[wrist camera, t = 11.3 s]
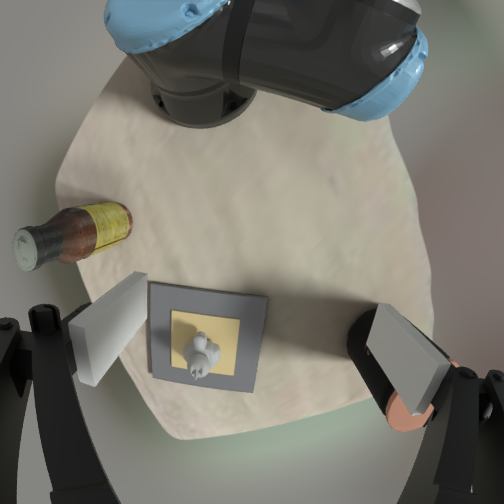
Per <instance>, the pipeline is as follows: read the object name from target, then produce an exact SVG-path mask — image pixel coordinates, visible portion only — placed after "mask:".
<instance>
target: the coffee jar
mask: <svg viewBox="0 0 504 504" xmlns="http://www.w3.org/2000/svg"><path fill="white" fill-rule="evenodd" d="M376 311H377V308H375V309H373V310H370V311H368V312H366V313H365V314H363V315H362V316H361V317H359V319H358V320H357V321H356V322H355V323H354V324H353V326H352V328H351V330H350V332H349V334H348V340H347V350H348V354H349V356H350V357H351V359H352V361H353V362H354V364H355V366H356V368H357V369H358V371H359V373H360V374H361V376H362V378H363V380H364V381H365V383H366V385H367V387H368V388H369V390H370V392H371V394H372V395H373V397H374V399H375V401H376V402H377V404H378V406H379V408H380V409H381V411H382V413H383V414H384V415H385V416H386V419H387V422H388V423H389V425H390V426H391V428H392V429H395V430H397V431H411V430H414V429H418V428H420V427H422V426H423V425H424V424H425V422H426V421H427V419H428V417H429V416H430V414H431V413H432V411H433V409H434V407H433V406H432V404H431V403H430V405H429V407H428V408H427V410H426V412H425V413H424V414H420V415H414V416H411V414H410V412H409V411H408V409H407V407H406V406H405V404H404V403H403V401H402V399H401V398H400V396H399V394H398V393H397V391H396V390H395V388H394V386H393V385H392V383H391V382H390V380H389V379H388V377H387V375H386V374H385V372H384V371H383V369H382V368H381V366H380V365H379V363H378V362H377V360H376V358H375V357H374V355H373V354H372V352H371V351H370V349H369V348H368V346H367V345H366V343H367V340H368V337H369V334H370V331H371V328H372V324H373V321H374V318H375V315H376ZM403 317H404V316H403ZM404 318H405V317H404ZM405 319H406V318H405ZM406 320H407V319H406ZM407 321H408V320H407ZM410 323H411V322H410ZM411 324H412V323H411ZM412 325H413V324H412ZM413 326H414V325H413ZM414 327H415V326H414ZM415 328H416V329H417V330H418V331H419V332H420V333H421V334H422V335H423V336H424V337H425V338H426V339H427V340H428V341H429V342H430V343H431V344H432V345H434V346H435V347H436V348H437V349H438V350H439V351H440V352H441V353H442V354H443V355H444V356H445V357H446V358H447V359H448V360H449V361H450V362H451V363H452V364H453V365H454V366H455V367H456V368H457V367H460V366H459V365H458V364H457V363H456V362H455V361H453V360H452V359H450V357H449V356H448V355H447V354H446V353H445V352H444V351H443V350H442V349H441V348H440V347H438V346H437V345H436V344H435V343H434V342H433V341H432V340H430V339H429V338H428V337H427V336H426V335H425V334H424V333H422V332H421V331H420V330H419V329H418V328H417V327H415Z"/></svg>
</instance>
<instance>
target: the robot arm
mask: <svg viewBox="0 0 504 504" xmlns="http://www.w3.org/2000/svg"><path fill="white" fill-rule="evenodd" d="M420 15H421V9H420V7H419V5H418V3H417V0H108V2H107V4H106V7H105V12H104V23H105V26H106V28H107V31H108V32H109V33H110V35H111V36H112V37H113V39H114V40H115V44H116V46H117V47H118V48H119V49H120V50H122V51H123V52H125V53H126V54H127V55H128V56H129V57H130V58H131V59H132V60H133V61H134V62H135V63H136V64H137V66H138V67H139V68H140V69H141V70H142V71H143V72H144V73H145V74H146V75H147V76H148V77H149V79H150V80H151V91H152V96H153V99H154V101H155V103H156V105H157V106H158V108H159V109H160V110H161V111H162V112H163V113H164V114H165V115H166V116H167V117H168V118H169V119H171V120H172V121H174V122H175V123H177V124H179V125H182V126H185V127H189V128H199V129H202V128H211V127H216V126H220V125H222V124H225V123H227V122H229V121H231V120H233V119H235V118H236V117H238V116H239V115H240V114H241V113H243V112H244V111H245V110H246V109H247V107H248V106H249V105H250V104H251V102H252V101H253V99H254V97H255V95H256V92H257V90H261V91H265V92H269V93H272V94H276V95H280V96H283V97H287V98H290V99H293V100H297V101H300V102H303V103H306V104H309V105H312V106H315V107H318V108H320V109H321V110H322V111H324V112H327V113H337V114H340V115H343V116H346V117H349V118H352V119H355V120H358V121H364V122H367V121H371V120H377V119H380V118H382V117H384V116H386V115H388V114H389V113H391V112H392V111H393V110H394V109H396V108H397V107H398V106H399V105H400V104H401V103H402V102H403V101H404V100H405V99H406V97H407V96H408V95H409V93H411V91H412V90H413V88H414V87H415V85H416V84H417V82H418V80H419V78H420V76H421V74H422V72H423V69H424V64H423V61H424V60H425V59H426V58H427V55H428V43H427V40H426V37H425V35H424V34H423V33H422V32H421V30H420V29H419V28H418V27H417V26H415V25H416V23H417V21H418V19H419V17H420ZM28 314H29V320H30V325H31V329H32V332H27V331H21V330H20V326H19V322H18V321H17V320H16V319H14V318H6V317H5V318H1V319H0V504H17V496H16V495H17V470H18V458H19V449H20V441H21V433H22V428H23V422H24V416H25V411H26V406H27V401H28V397H29V393H30V388H31V384H32V380H33V387H34V397H35V407H36V414H37V421H38V428H39V433H40V438H41V444H42V448H43V453H44V457H45V462H46V466H47V469H48V473H49V476H50V480H51V483H52V487H53V491H52V492H50V499H51V503H52V504H121V502H120V501H119V499H118V497H117V495H116V493H115V491H114V489H113V487H112V485H111V483H110V481H109V479H108V477H107V475H106V473H105V470H104V468H103V466H102V464H101V461H100V459H99V457H98V454H97V452H96V449H95V447H94V444H93V442H92V439H91V437H90V434H89V431H88V428H87V425H86V422H85V419H84V416H83V413H82V410H81V407H80V404H79V400H78V396H77V393H76V389H75V385H74V381H73V378H72V375H73V374H74V373H75V372H76V371H77V373H78V377H79V381H80V382H82V383H85V384H88V385H91V386H93V387H95V386H96V385H97V384H98V382H99V381H100V380H101V378H102V377H103V375H104V374H105V373H106V371H107V370H108V369H109V367H110V366H111V365H112V363H113V362H114V361H115V359H116V358H117V357H118V355H119V354H120V353H121V351H122V350H123V349H124V347H125V346H126V345H127V344H128V342H129V341H130V340H131V338H132V337H133V336H134V334H135V333H136V332H137V331H138V329H139V328H140V327H141V325H142V324H143V323H144V322H145V320H146V319H147V273H142V272H136V271H135V272H133V273H132V274H131V275H129V276H128V277H127V278H125V279H124V280H123V281H121V282H120V283H119V284H117V285H116V286H115V287H113V288H112V289H111V290H109V291H108V292H107V293H105V294H104V295H103V296H101V297H100V298H99V299H98V300H96V301H95V302H94V303H87V304H84V305H81V306H80V307H79V308H77V309H76V310H75V311H74V312H72V313H71V314H70V315H68V316H67V317H65V318H64V319H63V320H62V321H61V319H60V312H59V309H58V307H56V306H55V305H51V304H40V305H36V306H34V307H32V308H31V309H30V310H29V312H28ZM366 345H367V346H368V348H369V349H370V351H371V352H372V354H373V355H374V357H375V358H376V360H377V362H378V363H379V365H380V366H381V368H382V369H383V371H384V372H385V374H386V375H387V377H388V379H389V380H390V382H391V383H392V385H393V386H394V388H395V390H396V391H397V393H398V394H399V396H400V398H401V399H402V401H403V403H404V404H405V406H406V407H407V409H408V411H409V412H410V414H411V416H414V415H420V414H424V413H425V412H426V410H427V408H428V407H429V405H430V403H431V404H432V406H433V407H434V409H433V411H432V413H431V414H430V416H429V417H428V419H427V421H426V422H425V424H424V425H423V427H425V426H426V425H427V428H426V431H425V434H424V437H423V440H422V443H421V446H420V450H419V452H418V455H417V458H416V461H415V463H414V466H413V468H412V471H411V473H410V476H409V478H408V481H407V483H406V485H405V487H404V489H403V492H402V494H401V496H400V498H399V500H398V502H397V504H504V374H503V372H501V371H499V370H490V371H489V372H488V374H487V376H486V378H485V379H481V378H478V376H477V374H476V373H475V372H474V371H472V370H471V369H469V368H466V367H457V368H456V367H455V366H454V365H453V364H452V363H451V362H450V361H449V360H448V359H447V358H446V357H445V356H444V355H443V354H442V353H441V352H440V351H439V350H438V349H437V348H436V347H435V346H434V345H432V344H431V343H430V342H429V341H428V340H427V339H426V338H425V337H424V336H423V335H422V334H421V333H420V332H419V331H418V330H417V329H416V328H415V327H414V326H413V325H412V324H411V323H410V322H409V321H407V320H406V319H405V318H404V317H403V316H402V315H401V314H400V313H399V312H398V311H397V310H396V309H395V308H394V307H393V306H391V305H390V304H385V303H379V304H378V308H377V311H376V315H375V318H374V321H373V324H372V328H371V331H370V334H369V337H368V340H367V343H366ZM491 410H492V413H491V415H490V417H489V418H488V415H489V413H490V412H491ZM471 486H472V490H473V493H471Z"/></svg>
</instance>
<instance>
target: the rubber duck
mask: <svg viewBox="0 0 504 504" xmlns="http://www.w3.org/2000/svg"><path fill="white" fill-rule="evenodd" d="M183 357H184V359H185V361H186V362H187V369H188V371H189V373H190V374H191V375H192V376H193V377H195V380H196V379H197V378H201V377H204V376H206V375H207V374H208V372H209V370H211V369H212V368H213V367H214V366H215V365H216V364H217V363H218V362H219V360H220V358H221V353H220V347H219V345H218V344H215V343H213V342H212V341H209V340H207V336H206V334H205V333H204V332H202V331H199V332H197V333H196V335H195V336H194V337H193V339H192V341H191V342H190V343H187V344H186V345H185V346H184V348H183Z"/></svg>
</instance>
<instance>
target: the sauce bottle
mask: <svg viewBox="0 0 504 504" xmlns="http://www.w3.org/2000/svg"><path fill="white" fill-rule="evenodd" d="M131 230H132V216H131V213H130V212H129V210H128V209H127V208H126V207H125V206H124V205H122V204H119V203H114V202H106V203H99V204H90V205H84V206H77V207H71V208H66V209H64V210H62V211H60V212H59V213H57V214H56V215H55V216H54V217H53V218H51V219H50V220H49V221H48V222H46V223H45V224H43V225H41V226H36V227H32V226H27V227H25V228H21V229H19V230H18V231H17V232H16V233H15V235H14V237H13V242H12V248H13V254H14V258H15V261H16V263H17V264H18V266H19V267H20V268H21V269H23V270H24V271H29V272H30V271H32V270H35V269H38V268H40V266H42V264H44V263H46V262H49V261H54V260H57V261H60V262H62V263H66V264H70V263H74V262H76V261H79V260H81V259H85V258H88V257H90V256H92V255H94V254H96V253H99V252H101V251H103V250H106V249H108V248H110V247H112V246H115V245H117V244H119V243H121V242H122V241H123V240H125V239H126V238H127V237H128V236H129V235H130V233H131Z"/></svg>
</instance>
